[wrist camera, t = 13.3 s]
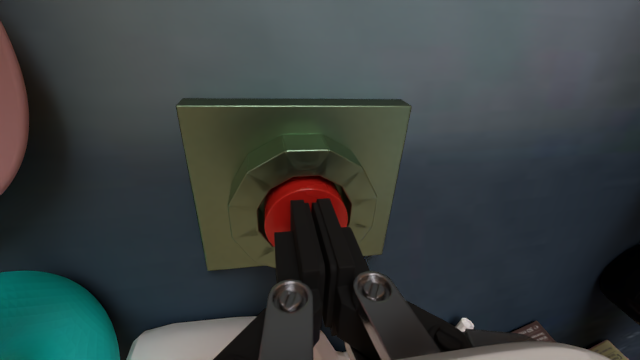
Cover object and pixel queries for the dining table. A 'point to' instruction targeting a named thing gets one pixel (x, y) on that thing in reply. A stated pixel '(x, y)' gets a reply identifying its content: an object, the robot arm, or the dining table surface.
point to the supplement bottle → (624, 283)
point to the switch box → (288, 166)
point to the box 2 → (608, 351)
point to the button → (298, 190)
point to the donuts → (52, 320)
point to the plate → (11, 112)
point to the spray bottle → (215, 340)
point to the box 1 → (535, 332)
